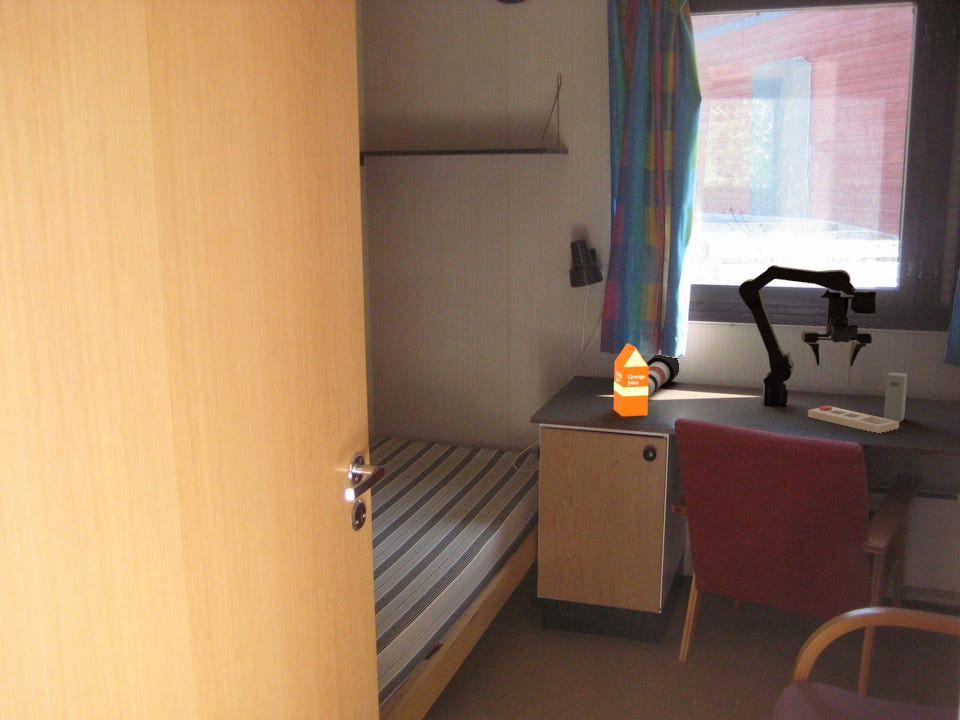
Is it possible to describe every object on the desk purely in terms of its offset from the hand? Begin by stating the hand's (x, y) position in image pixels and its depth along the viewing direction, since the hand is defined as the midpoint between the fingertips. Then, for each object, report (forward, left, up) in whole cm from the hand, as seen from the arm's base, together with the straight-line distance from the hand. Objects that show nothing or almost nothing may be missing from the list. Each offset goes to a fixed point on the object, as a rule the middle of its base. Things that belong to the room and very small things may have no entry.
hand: (834, 365), depth 271 cm
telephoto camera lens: (-52, +18, -13) cm, 57 cm away
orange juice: (-59, -12, -13) cm, 62 cm away
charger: (+15, -10, -13) cm, 22 cm away
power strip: (+2, -16, -13) cm, 21 cm away
